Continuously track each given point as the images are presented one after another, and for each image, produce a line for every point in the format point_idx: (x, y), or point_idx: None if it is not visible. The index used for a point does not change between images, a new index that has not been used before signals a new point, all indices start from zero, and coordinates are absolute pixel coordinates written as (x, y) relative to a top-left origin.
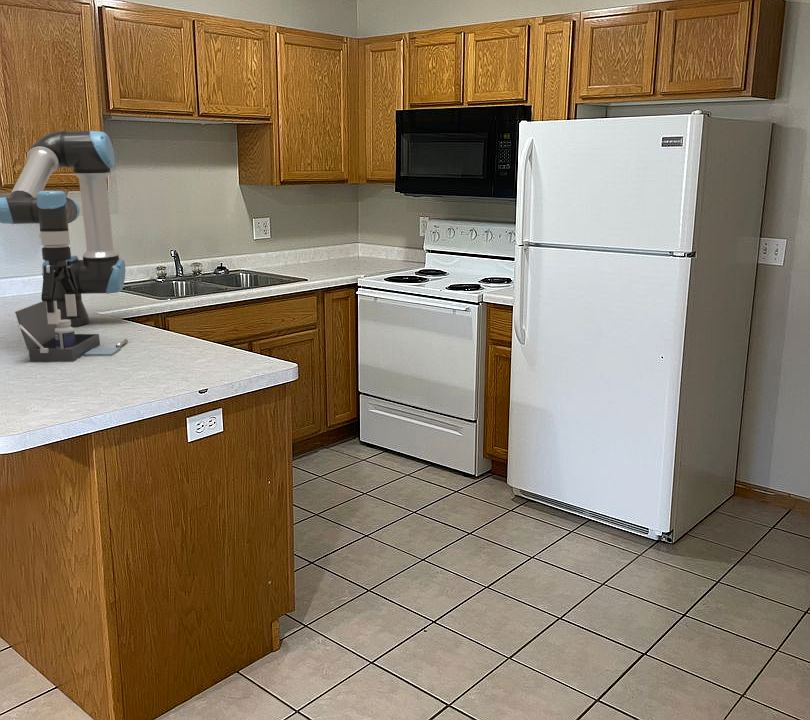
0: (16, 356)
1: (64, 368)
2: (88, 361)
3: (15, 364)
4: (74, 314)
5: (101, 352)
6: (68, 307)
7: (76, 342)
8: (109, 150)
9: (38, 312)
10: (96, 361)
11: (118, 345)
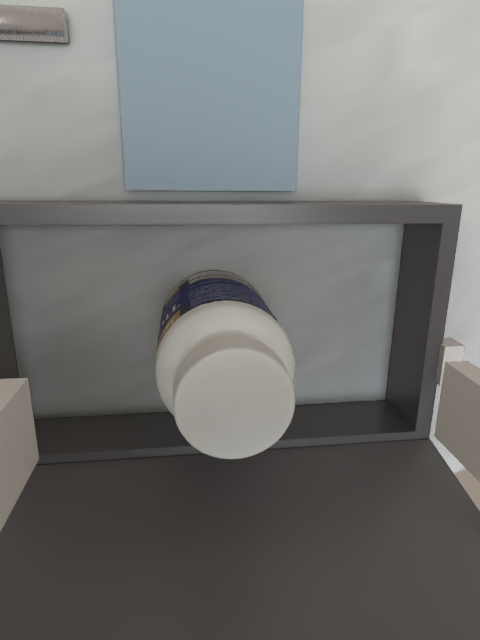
0: None
1: None
2: (429, 111)
3: (438, 448)
4: (23, 398)
5: (258, 87)
6: (4, 494)
7: (6, 348)
8: None
9: None
10: (436, 59)
11: (63, 15)
